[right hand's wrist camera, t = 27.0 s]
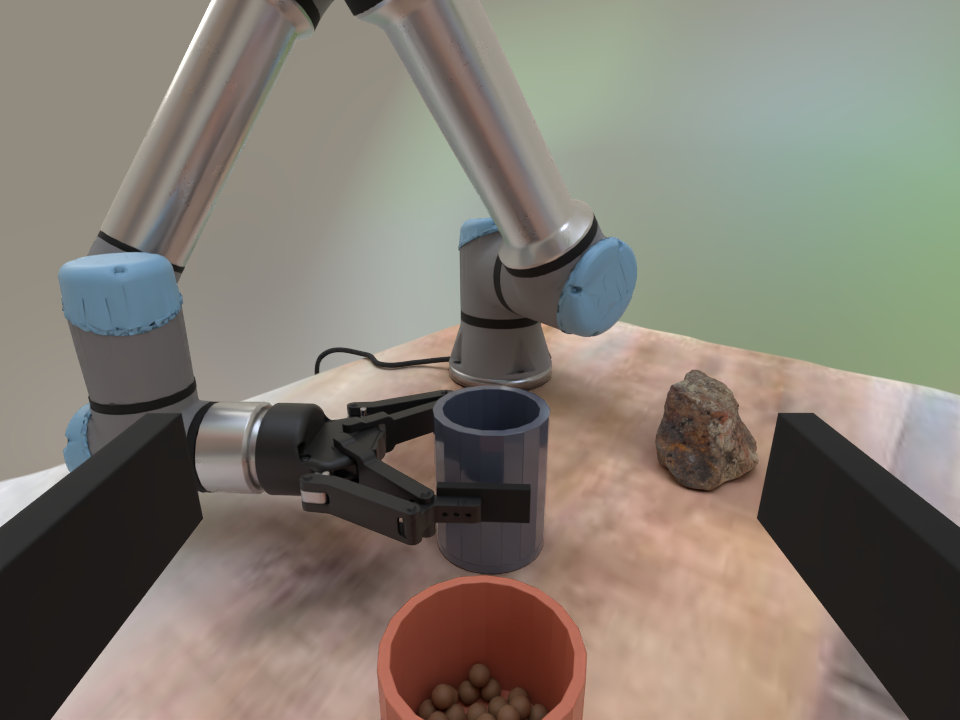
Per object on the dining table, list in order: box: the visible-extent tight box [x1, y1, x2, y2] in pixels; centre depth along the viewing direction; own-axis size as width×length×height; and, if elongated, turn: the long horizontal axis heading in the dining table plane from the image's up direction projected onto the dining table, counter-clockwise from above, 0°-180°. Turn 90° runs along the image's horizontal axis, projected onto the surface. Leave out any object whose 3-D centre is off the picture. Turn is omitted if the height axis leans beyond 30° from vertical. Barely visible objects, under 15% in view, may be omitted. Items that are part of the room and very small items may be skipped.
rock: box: [656, 370, 758, 490], centre depth 59 cm, size 14×9×10 cm
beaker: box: [433, 386, 550, 574], centre depth 46 cm, size 9×9×12 cm
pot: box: [377, 575, 587, 720], centre depth 29 cm, size 10×10×9 cm
